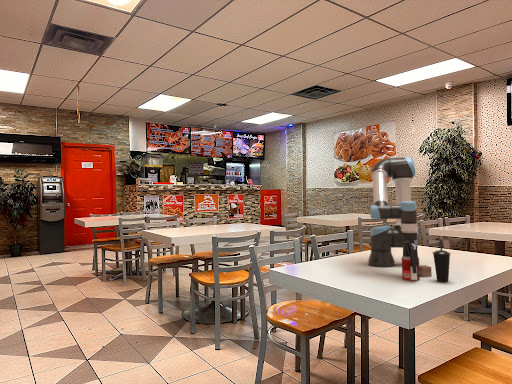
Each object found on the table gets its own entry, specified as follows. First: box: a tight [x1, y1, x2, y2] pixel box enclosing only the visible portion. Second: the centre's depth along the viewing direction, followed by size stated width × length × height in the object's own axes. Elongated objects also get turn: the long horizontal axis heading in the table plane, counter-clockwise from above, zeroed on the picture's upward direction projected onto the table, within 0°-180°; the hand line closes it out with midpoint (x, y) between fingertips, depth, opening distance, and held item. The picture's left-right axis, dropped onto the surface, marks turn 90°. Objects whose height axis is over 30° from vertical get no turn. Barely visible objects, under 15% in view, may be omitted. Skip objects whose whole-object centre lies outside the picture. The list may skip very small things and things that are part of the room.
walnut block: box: [419, 264, 433, 278], centre depth 183 cm, size 5×5×5 cm
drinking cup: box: [432, 239, 451, 283], centre depth 171 cm, size 8×8×20 cm
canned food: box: [401, 255, 420, 282], centre depth 177 cm, size 8×8×11 cm
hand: (410, 277), depth 177 cm, fingers closed on canned food, 8 cm apart
